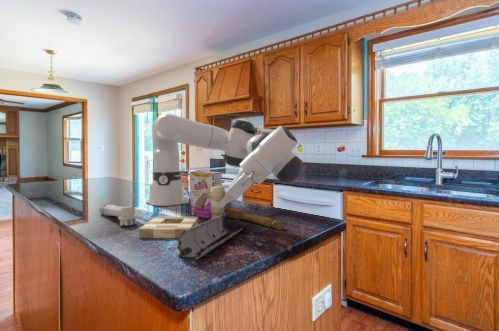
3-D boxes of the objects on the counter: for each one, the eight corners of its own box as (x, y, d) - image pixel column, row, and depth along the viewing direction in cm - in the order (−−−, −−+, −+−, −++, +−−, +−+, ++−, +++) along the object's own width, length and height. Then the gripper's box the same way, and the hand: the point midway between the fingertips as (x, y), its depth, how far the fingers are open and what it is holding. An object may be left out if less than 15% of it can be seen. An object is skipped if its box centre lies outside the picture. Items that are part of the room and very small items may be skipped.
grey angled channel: (186, 271, 70) (231, 240, 93) (205, 252, 68) (246, 226, 91) (166, 246, 71) (215, 222, 94) (184, 227, 69) (230, 207, 93)
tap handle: (277, 221, 93) (218, 206, 115) (277, 231, 93) (218, 214, 116) (283, 220, 95) (224, 205, 118) (283, 229, 96) (224, 213, 118)
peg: (211, 227, 97) (211, 186, 96) (225, 227, 97) (224, 186, 96) (210, 231, 92) (209, 188, 92) (224, 231, 92) (223, 188, 92)
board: (155, 224, 101) (155, 216, 100) (198, 224, 100) (198, 216, 100) (139, 237, 86) (138, 229, 85) (189, 238, 85) (189, 229, 85)
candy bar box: (189, 216, 111) (189, 171, 110) (199, 213, 116) (198, 170, 114) (213, 220, 105) (213, 173, 104) (222, 217, 109) (222, 172, 108)
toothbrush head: (111, 202, 118) (138, 203, 99) (113, 220, 117) (140, 223, 99) (97, 204, 114) (121, 205, 96) (98, 222, 114) (123, 226, 96)
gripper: (261, 182, 83) (226, 218, 83) (259, 174, 103) (231, 203, 104) (245, 165, 82) (209, 201, 83) (246, 161, 103) (217, 190, 104)
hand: (221, 202), depth 94 cm, fingers open, 8 cm apart
